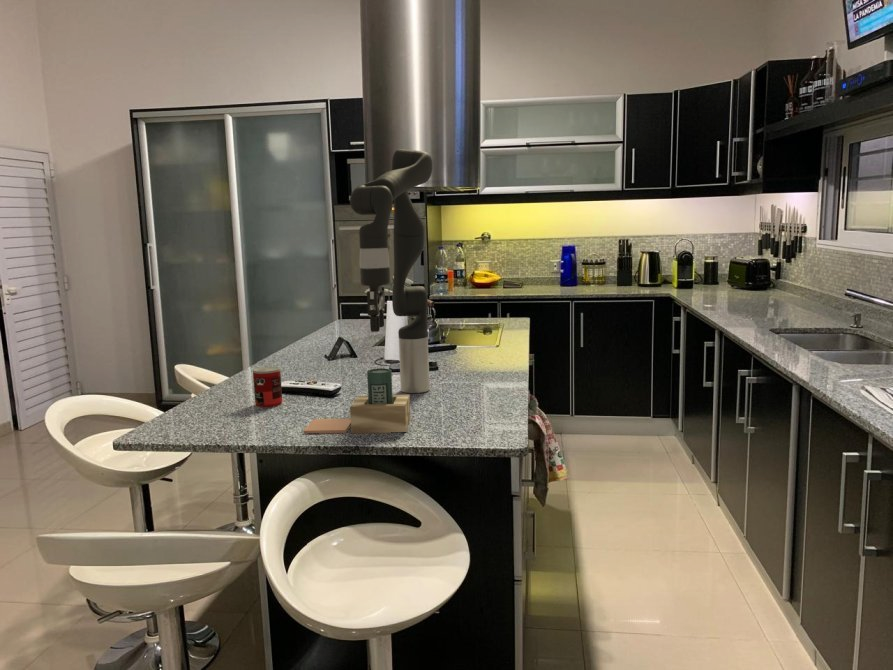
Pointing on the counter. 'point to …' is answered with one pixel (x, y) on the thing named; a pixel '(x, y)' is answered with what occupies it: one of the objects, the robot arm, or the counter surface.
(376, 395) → the can
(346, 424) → the plate
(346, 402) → the counter surface
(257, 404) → the canned food
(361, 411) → the bore block
